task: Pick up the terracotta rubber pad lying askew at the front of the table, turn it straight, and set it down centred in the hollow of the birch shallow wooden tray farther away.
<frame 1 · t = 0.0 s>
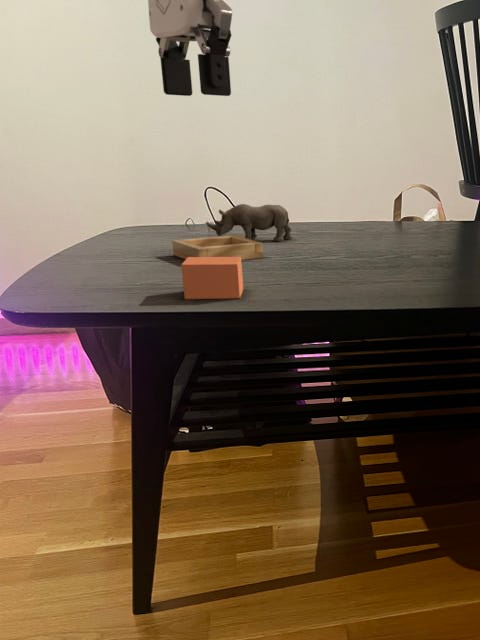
hand: (196, 95, 80), 22 cm above the table, tool pointing down, fingers open, 9 cm apart
pad: (215, 294, 82), on the table
shallow wooden tray: (218, 256, 104), on the table
rhino figurine: (250, 241, 119), on the table
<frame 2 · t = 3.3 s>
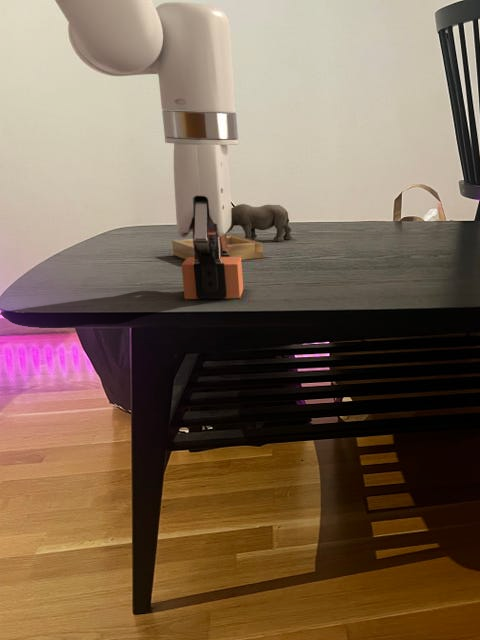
hand: (214, 291, 82), 0 cm above the table, tool pointing down, fingers closed on pad, 4 cm apart
pad: (215, 294, 82), on the table, touching gripper
everything else where it was.
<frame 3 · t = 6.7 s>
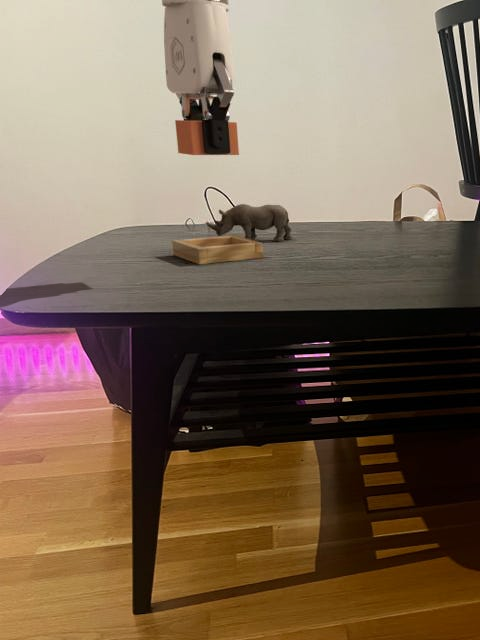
hand: (208, 150, 90), 16 cm above the table, tool pointing down, fingers closed on pad, 4 cm apart
pad: (208, 154, 90), point 15 cm above the table, touching gripper
everything else where it was.
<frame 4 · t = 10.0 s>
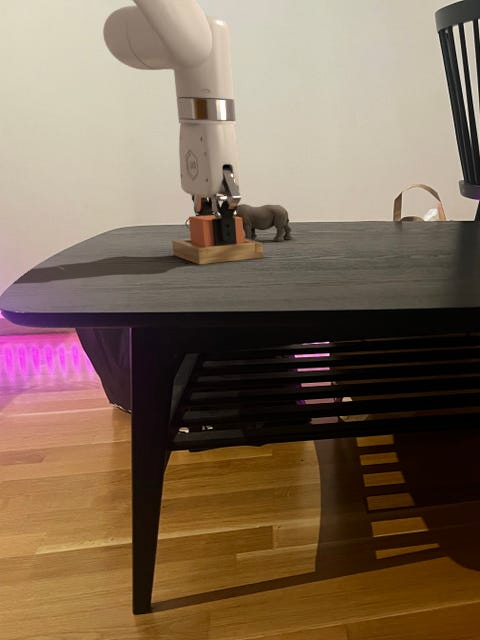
hand: (217, 242, 104), 2 cm above the table, tool pointing down, fingers closed on pad, 4 cm apart
pad: (217, 244, 104), point 2 cm above the table, touching gripper
everything else where it was.
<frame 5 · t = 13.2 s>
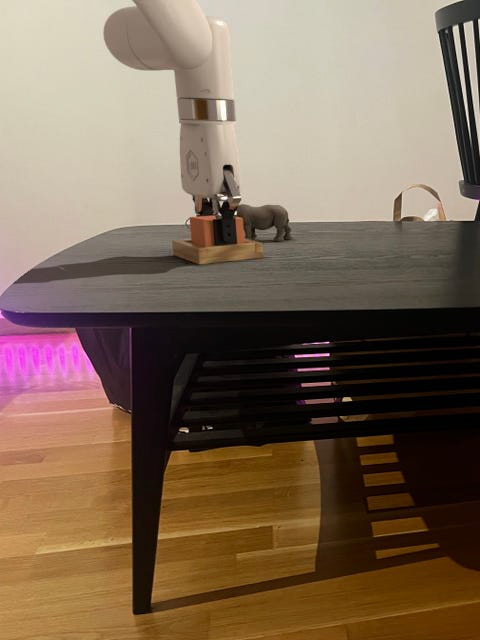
hand: (217, 242, 104), 2 cm above the table, tool pointing down, fingers closed on pad, 4 cm apart
pad: (218, 244, 104), point 2 cm above the table, touching gripper
everything else where it was.
when the fingers open (3 cm above the table, at t = 15.9 s): pad drops 2 cm, resting on shallow wooden tray.
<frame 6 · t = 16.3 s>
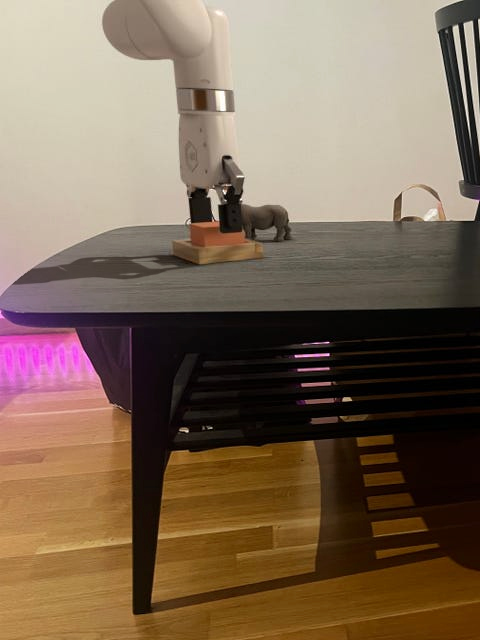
hand: (216, 228, 103), 4 cm above the table, tool pointing down, fingers open, 9 cm apart
pad: (218, 251, 104), point 1 cm above the table, touching shallow wooden tray
everything else where it was.
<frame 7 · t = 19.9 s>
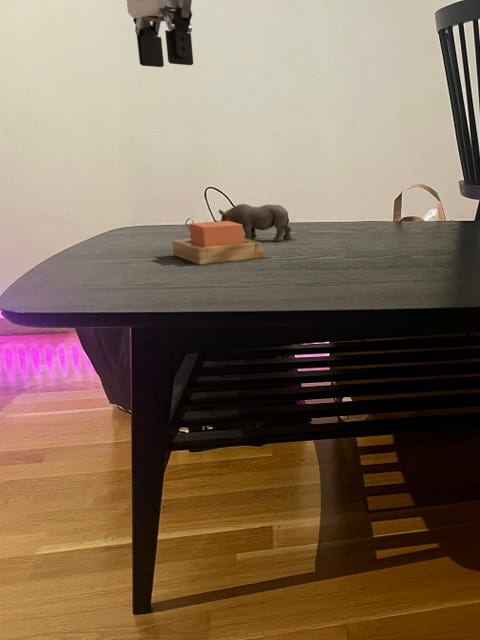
hand: (166, 65, 97), 26 cm above the table, tool pointing down, fingers open, 9 cm apart
nothing on the table moved.
at the end: pad 0.0 cm off-centre on the shallow wooden tray, point 0.8 cm above the shallow wooden tray's base; pad tilted 0°; the gripper is holding nothing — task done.
